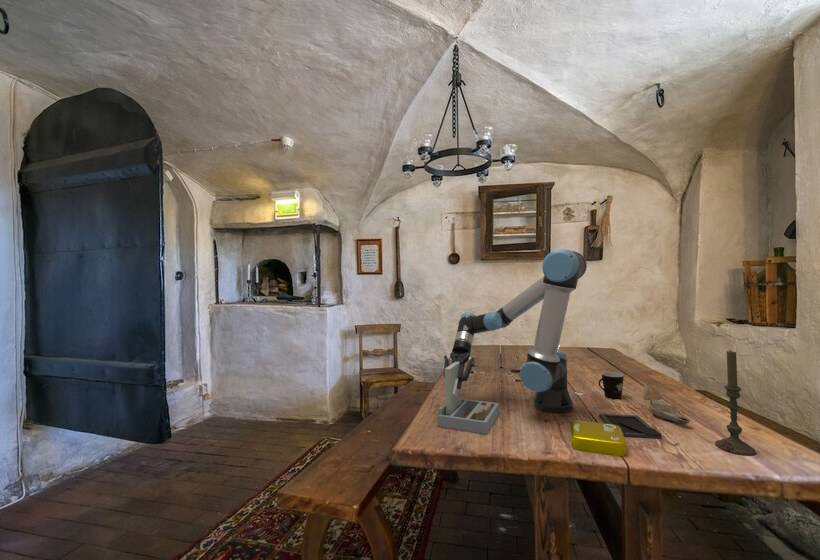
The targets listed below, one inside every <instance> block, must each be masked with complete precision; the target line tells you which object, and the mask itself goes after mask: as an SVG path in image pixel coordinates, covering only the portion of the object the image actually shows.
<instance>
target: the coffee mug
mask: <svg viewBox="0 0 820 560" xmlns="http://www.w3.org/2000/svg"><path fill="white" fill-rule="evenodd" d="M624 378H625V377H624V374H622V373H620V372H613V371H611V372H610V371H605V372H604V371H603V372H601V378H600V379H599V380H598V387H599V388H600V389H601V390H602V391H603V393H604V397H605V398H607V399H609V400H621V399H622V398H623V397H622V396H623V387H624ZM601 382H602V384H603V385H602V386H603V387H602V386H601Z"/></svg>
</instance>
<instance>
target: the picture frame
mask: <svg viewBox="0 0 820 560" xmlns="http://www.w3.org/2000/svg"><path fill="white" fill-rule="evenodd" d="M598 417H599V418H600V420H601V421H603V423H604V424H613V425H618V426H619V427H620V428H621V430H622V433H623V436H624V438H632V439H633V438H634V439H648V440H649V439H650V440H654V439H655V440H662V439H663V437H662V434H661V432H659V431H658V430H657V429H655V428H653V427H652V426H650V424H648V423H647V422H646V421H645V420H643V419H642V418H641V417H640V416H639V415H636V414H615V413H613V414H611V413H598Z"/></svg>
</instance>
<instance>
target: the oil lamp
mask: <svg viewBox="0 0 820 560" xmlns="http://www.w3.org/2000/svg"><path fill="white" fill-rule="evenodd" d="M642 394H643V399H644V401H649V404H650V405H649V409H650V411H651V412H652V414H654V416H656V417H657V418H659V419H662V420H667V421H672V422H675V423H678V424H681V425H685V426H686V425H688V424H689V423H690V421H691V420H690V419H689V418H688V417H686V416H684V415H681V410H679V409H678V408H677V407H676V406H673V405H671V404H670V405H669V404H663V403H660V402H659V400H663V397H662V395H661V394H660V393H659V392H658V391H657V389H654V387H652V386H650V385H649V384H648V383H647V382H646V383H645V384H644V386H643V393H642Z"/></svg>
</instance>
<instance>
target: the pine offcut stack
mask: <svg viewBox="0 0 820 560" xmlns="http://www.w3.org/2000/svg"><path fill="white" fill-rule="evenodd" d="M490 411H491V403H487V404H486V405H485V406H483V405H480V406H479V408H478V409H477V410H476V411H475V413H474V420H480V421H484V420H485V418H486V417H487V415H488V414H489V412H490Z"/></svg>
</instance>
